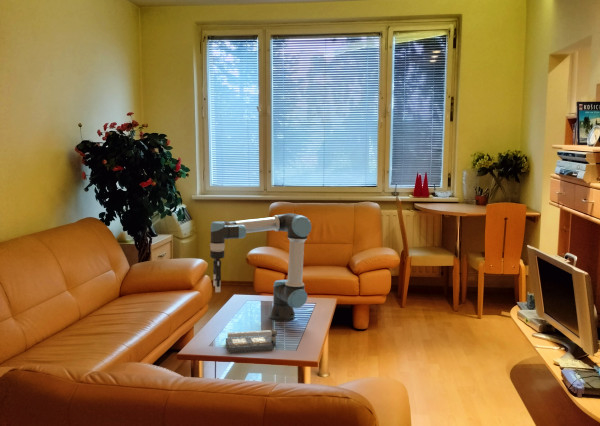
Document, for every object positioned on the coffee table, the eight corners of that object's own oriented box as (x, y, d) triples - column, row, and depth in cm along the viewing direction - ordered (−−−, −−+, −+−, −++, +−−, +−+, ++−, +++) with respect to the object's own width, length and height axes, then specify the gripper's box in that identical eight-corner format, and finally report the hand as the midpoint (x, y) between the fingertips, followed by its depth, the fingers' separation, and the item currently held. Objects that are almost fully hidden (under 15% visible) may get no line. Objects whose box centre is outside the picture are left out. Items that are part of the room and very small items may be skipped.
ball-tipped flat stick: (276, 333, 282) (276, 328, 281) (277, 335, 279) (277, 330, 278) (227, 336, 275) (227, 331, 275) (228, 338, 272) (228, 333, 272)
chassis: (272, 340, 287) (273, 330, 287) (278, 350, 274) (279, 339, 273) (225, 343, 281) (225, 333, 280) (229, 353, 267) (229, 343, 267)
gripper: (208, 246, 300) (208, 283, 302) (212, 254, 276) (211, 295, 278) (222, 246, 302) (221, 283, 304) (226, 254, 278) (226, 294, 280)
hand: (216, 289), depth 291 cm, fingers open, 13 cm apart
